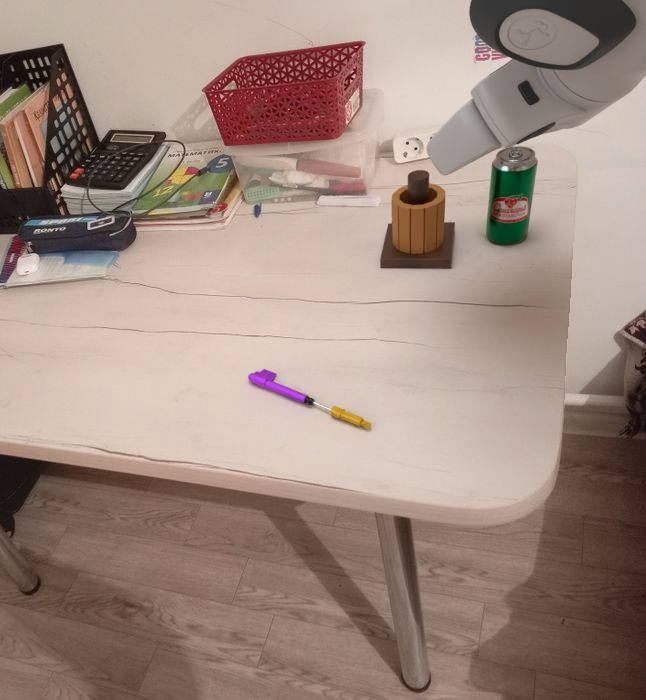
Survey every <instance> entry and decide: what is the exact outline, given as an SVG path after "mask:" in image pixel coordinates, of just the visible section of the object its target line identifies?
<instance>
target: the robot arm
mask: <svg viewBox="0 0 646 700" xmlns="http://www.w3.org/2000/svg"><path fill="white" fill-rule="evenodd" d="M468 13H469V21H470V24H471V27H472V29H473V30H474V32H475V33H476V35H477V37H479V39H480V40H481V41H482V42H483V43H484V44H485V45H486V46H488V47H489V48H491V49H492V50H493V51H495V52H497V53H499V54H501V55H503V56H505V57H507V58H510V60H509V61H508V62H506V63H504V65H502V66H500V67H499V68H497V69H496V70H494V71H492V72H491V73H489V74H488V75H487V76H486V77H484V78H482V79H481V80H480V81H478V83H477V84H475V85H474V87H472V89H471V90H470V95H471V97H472V98H471V99H470V100H468V101H467V102H466V103H464V105H462V106H461V107H460V108H459V109H457V110H456V112H454V114H453V115H452V116H451V117H449V119H448V120H447V121H446V122H445V123H444V124H443V125H441V127H440V128H439V129H438V131H437V132H436V133H435V134H434V135H433V136H432V137H431V138H430V139H429V141H428V142H427V144H426V152H427V156H428V158H429V159H430V162H431V163H432V164H433V166H434V168H435V169H436V170H437V172H438V173H439V174H440V175H442V176H449V175H450V174H453V173H455V172H457V171H459V170H460V169H463V168H464V167H466V166H468V165H469V164H472V163H474V162H475V161H477V160H479V159H480V158H483V157H485V156H486V155H489V154H490V153H492V152H494V151H496V150H499V149H500V148H503V149H505V148H510V147H515V146H516V145H521V144H522V143H525V142H527V141H528V140H531V139H534V138H536V137H539V136H541V135H544V134H549V133H553V132H558V131H561V130H569V129H574V128H578V127H579V126H582V125H583V124H586V123H587V122H588V121H590V120H592V119H593V118H594V117H596V116H597V115H599V114H600V113H602V112H603V111H604V110H606V109H607V108H609V107H611V106H612V105H614V104H615V103H616V102H618V101H620V100H621V99H623V98H624V97H626V96H627V95H628V94H630V93H631V92H632V91H633V90H634V89H635V88H636V87H638V86H639V84H640V83H641V82H642V81H643V79H644V78H645V77H646V0H470V4H469V11H468Z"/></svg>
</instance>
